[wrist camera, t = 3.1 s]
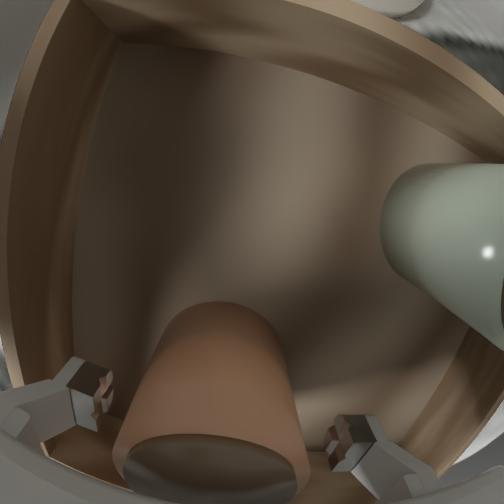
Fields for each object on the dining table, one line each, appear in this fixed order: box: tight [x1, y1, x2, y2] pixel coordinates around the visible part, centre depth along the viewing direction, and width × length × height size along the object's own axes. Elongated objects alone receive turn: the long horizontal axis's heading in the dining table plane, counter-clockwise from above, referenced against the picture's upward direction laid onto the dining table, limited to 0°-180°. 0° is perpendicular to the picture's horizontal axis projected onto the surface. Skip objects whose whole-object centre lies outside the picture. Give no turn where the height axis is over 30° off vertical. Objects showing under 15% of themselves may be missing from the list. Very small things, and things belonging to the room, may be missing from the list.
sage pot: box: [380, 163, 504, 351], centre depth 8 cm, size 5×5×7 cm
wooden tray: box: [0, 0, 504, 504], centre depth 10 cm, size 22×20×5 cm
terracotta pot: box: [112, 301, 311, 504], centre depth 9 cm, size 5×5×7 cm
